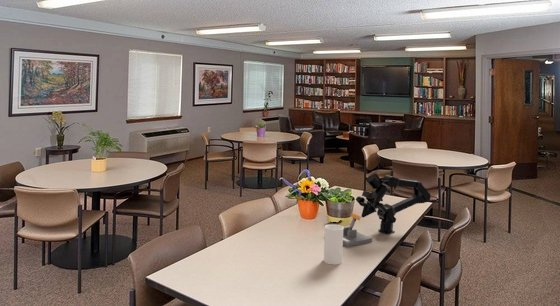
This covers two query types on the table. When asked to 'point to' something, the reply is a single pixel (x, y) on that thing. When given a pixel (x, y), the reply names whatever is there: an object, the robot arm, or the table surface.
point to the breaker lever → (353, 221)
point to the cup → (333, 244)
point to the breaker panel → (354, 237)
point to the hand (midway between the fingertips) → (362, 217)
